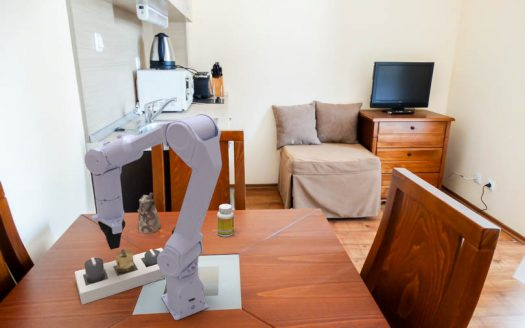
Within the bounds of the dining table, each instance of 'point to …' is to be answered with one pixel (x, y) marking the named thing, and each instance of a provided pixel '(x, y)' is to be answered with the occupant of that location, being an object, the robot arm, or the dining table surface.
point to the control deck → (117, 279)
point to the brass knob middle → (124, 261)
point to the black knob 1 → (94, 270)
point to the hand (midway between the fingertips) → (114, 247)
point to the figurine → (148, 215)
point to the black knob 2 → (151, 257)
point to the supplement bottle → (225, 220)
